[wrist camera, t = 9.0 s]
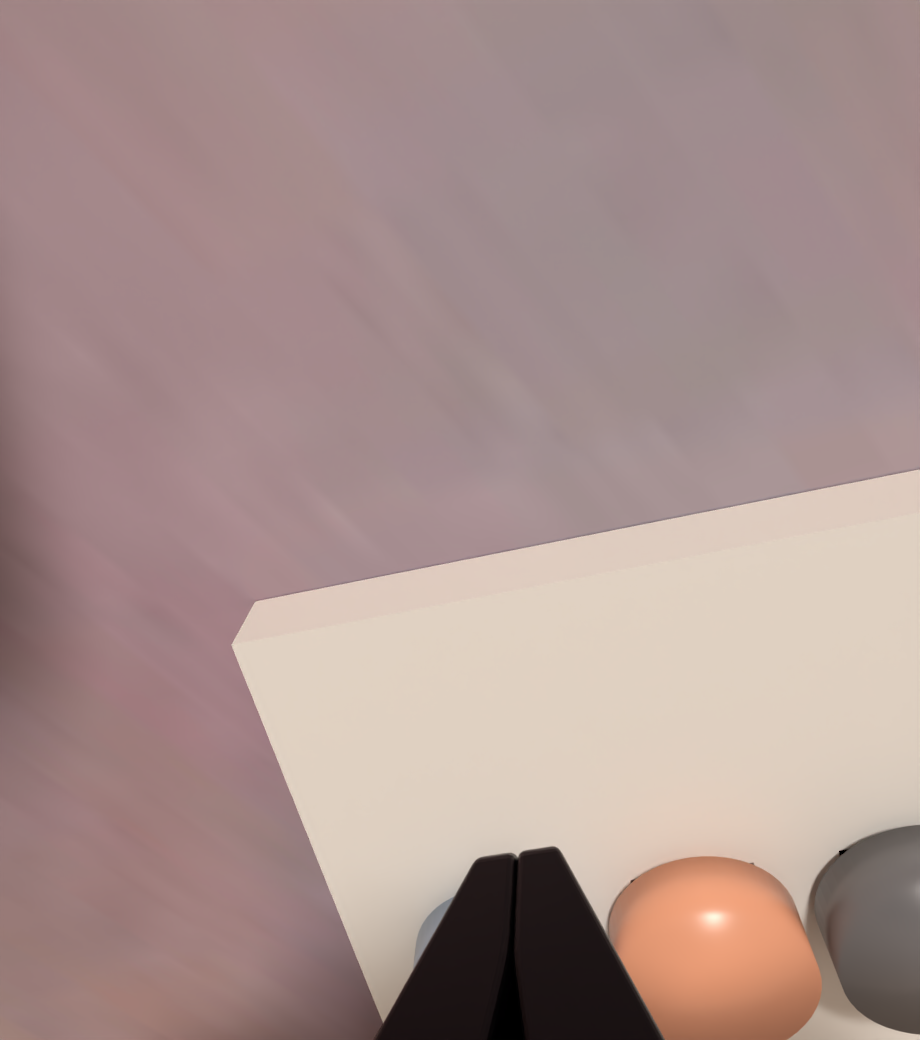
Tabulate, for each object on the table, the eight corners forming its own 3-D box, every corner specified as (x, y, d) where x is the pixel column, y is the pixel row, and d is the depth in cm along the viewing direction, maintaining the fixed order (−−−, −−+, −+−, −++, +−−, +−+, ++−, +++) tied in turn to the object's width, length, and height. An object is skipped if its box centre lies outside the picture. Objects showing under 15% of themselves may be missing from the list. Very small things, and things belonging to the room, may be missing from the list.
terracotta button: (767, 791, 22) (812, 904, 19) (786, 922, 24) (830, 1047, 21) (587, 818, 23) (600, 933, 20) (617, 944, 25) (634, 1069, 21)
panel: (1040, 445, 19) (1096, 478, 17) (1034, 1063, 26) (1073, 1131, 25) (255, 601, 21) (231, 645, 20) (454, 1124, 29) (450, 1190, 27)
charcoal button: (975, 759, 22) (1060, 871, 18) (979, 896, 23) (1056, 1022, 20) (783, 788, 22) (831, 902, 19) (801, 920, 24) (847, 1045, 21)
